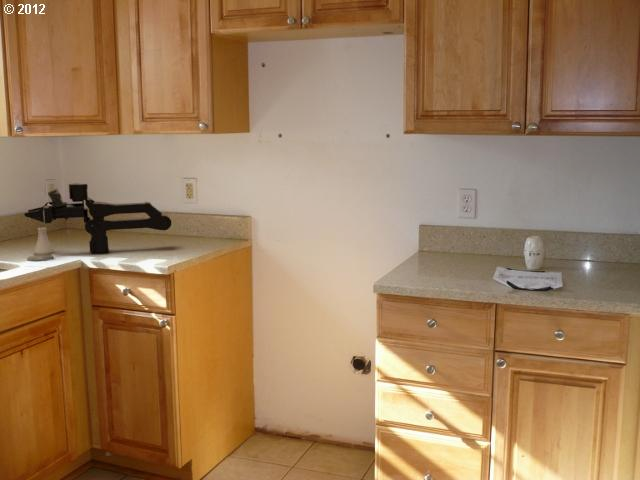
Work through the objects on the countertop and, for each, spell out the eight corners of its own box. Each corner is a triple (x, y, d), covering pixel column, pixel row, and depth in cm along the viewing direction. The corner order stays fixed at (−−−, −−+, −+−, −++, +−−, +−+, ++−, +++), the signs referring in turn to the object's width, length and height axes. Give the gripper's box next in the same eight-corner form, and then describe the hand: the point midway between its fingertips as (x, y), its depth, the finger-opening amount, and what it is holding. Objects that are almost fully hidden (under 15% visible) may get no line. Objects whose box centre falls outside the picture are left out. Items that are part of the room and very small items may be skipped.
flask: (29, 254, 272) (27, 228, 270) (45, 251, 278) (43, 226, 276) (43, 256, 268) (41, 229, 267) (58, 252, 275) (56, 227, 273)
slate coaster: (54, 255, 268) (54, 253, 268) (51, 260, 260) (51, 258, 259) (29, 257, 266) (29, 255, 266) (25, 261, 257) (25, 259, 257)
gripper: (71, 187, 276) (28, 189, 272) (66, 192, 258) (20, 194, 254) (73, 215, 278) (30, 217, 274) (68, 222, 260) (23, 224, 256)
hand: (26, 213), depth 265 cm, fingers open, 9 cm apart
